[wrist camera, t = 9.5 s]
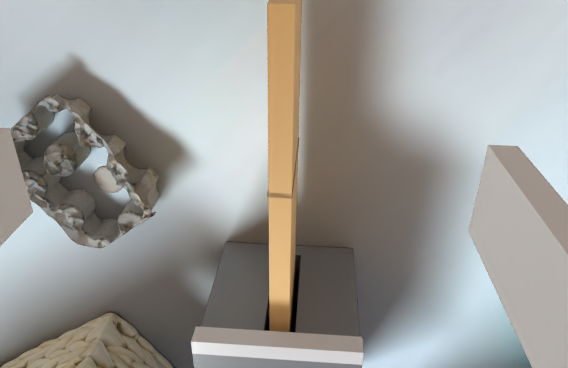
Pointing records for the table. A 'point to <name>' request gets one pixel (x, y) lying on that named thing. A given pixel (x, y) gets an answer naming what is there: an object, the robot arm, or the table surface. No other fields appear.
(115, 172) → the egg carton
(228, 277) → the box
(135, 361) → the storage basket
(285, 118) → the ticket
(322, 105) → the table surface
